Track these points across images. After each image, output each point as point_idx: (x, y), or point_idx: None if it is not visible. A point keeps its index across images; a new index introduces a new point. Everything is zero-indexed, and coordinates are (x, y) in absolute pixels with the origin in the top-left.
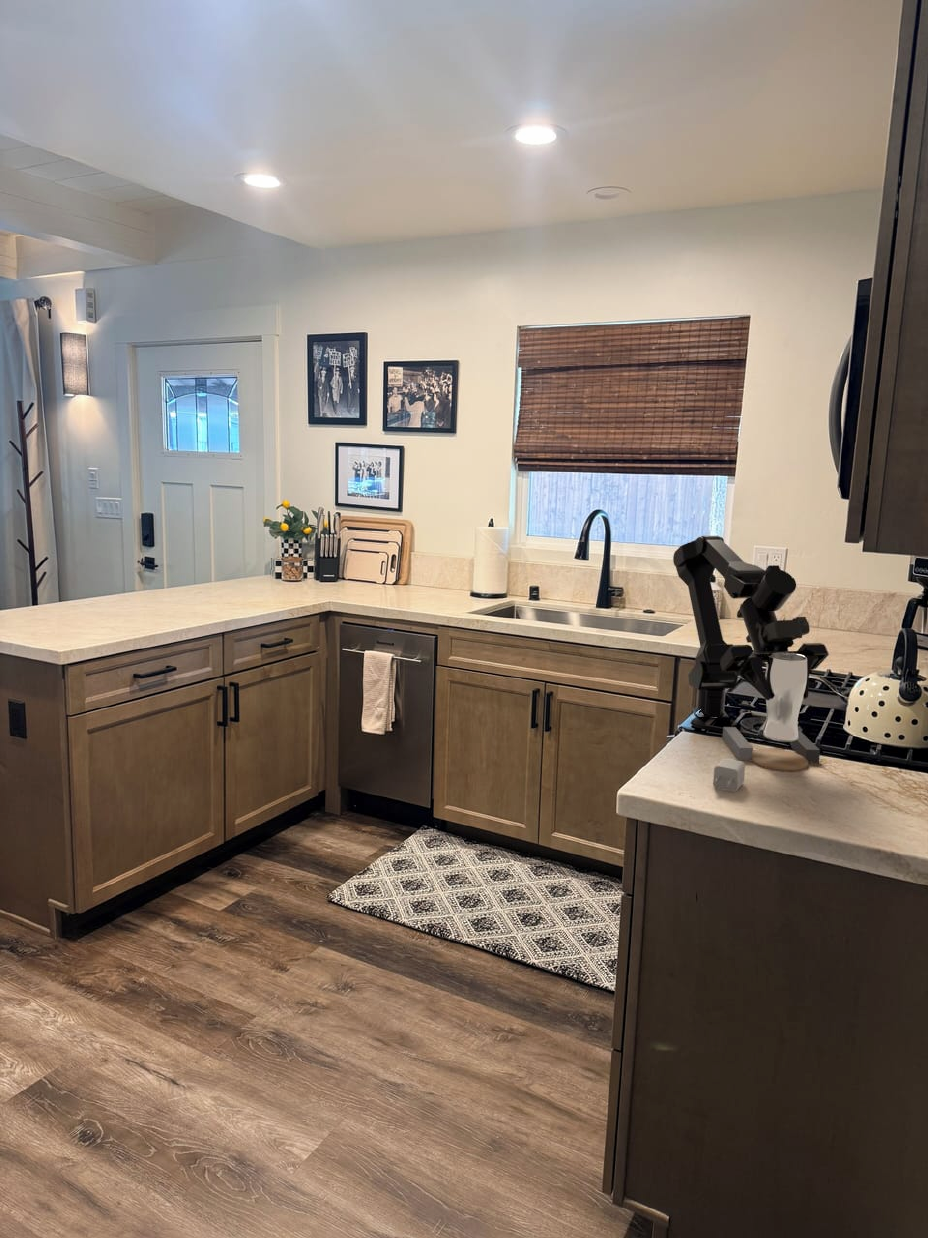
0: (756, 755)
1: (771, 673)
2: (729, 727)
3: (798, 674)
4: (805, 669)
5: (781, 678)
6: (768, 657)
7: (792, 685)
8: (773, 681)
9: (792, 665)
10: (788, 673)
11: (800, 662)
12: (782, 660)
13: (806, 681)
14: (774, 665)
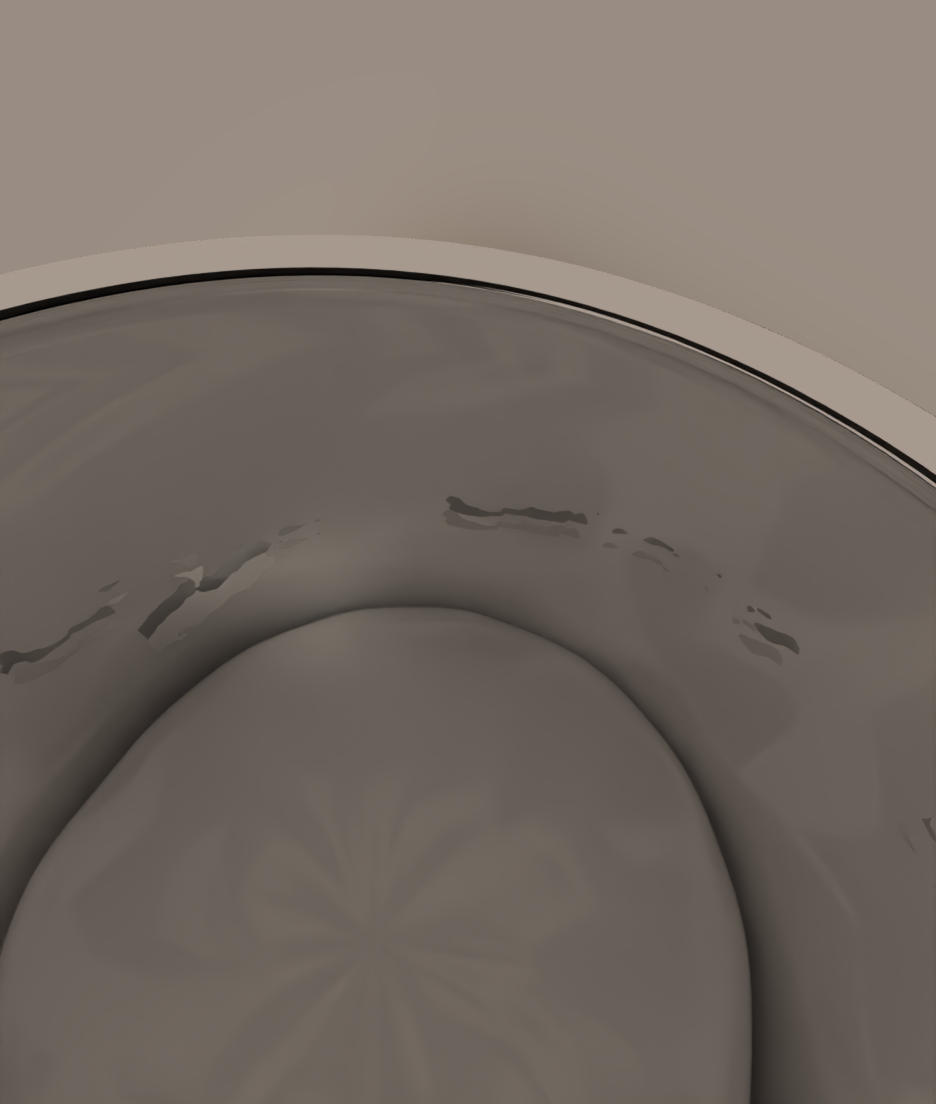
0: None
1: (811, 800)
2: None
3: (344, 498)
4: (101, 505)
5: (622, 622)
6: None
7: (451, 595)
8: (702, 757)
9: (479, 368)
10: (537, 513)
11: (231, 293)
12: (799, 368)
13: (125, 695)
14: (899, 684)
